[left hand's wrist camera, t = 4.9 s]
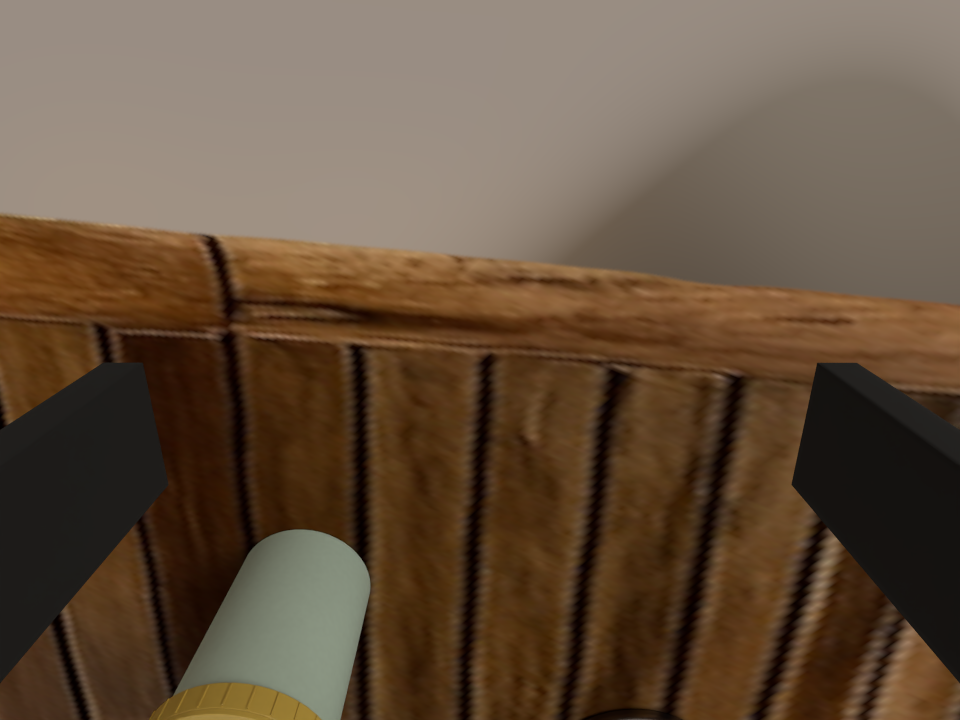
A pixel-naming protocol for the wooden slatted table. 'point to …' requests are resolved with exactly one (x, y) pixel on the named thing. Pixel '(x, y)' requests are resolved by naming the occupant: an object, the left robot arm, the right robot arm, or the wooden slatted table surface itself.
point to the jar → (289, 622)
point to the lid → (232, 704)
